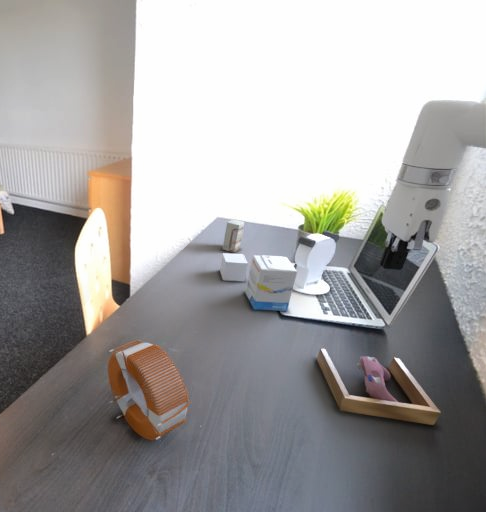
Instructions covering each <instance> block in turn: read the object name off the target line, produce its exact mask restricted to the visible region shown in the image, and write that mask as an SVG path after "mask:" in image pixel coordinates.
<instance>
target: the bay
mask: <svg viewBox="0 0 486 512" xmlns="http://www.w3.org/2000/svg"><path fill="white" fill-rule="evenodd" d="M316 362H317V364H318V366H319V368H320V370H321V371H322V375H323V376H324V378H325V380H326V382H327V384H328V387H329V389H330V391H331V393H332V396H333V397H334V399H335V402H336V404H337V406H338V408H339V410H340V412H345V413H346V412H347V413H353V414H359V415H366V416H373V417H379V418H386V419H392V420H398V421H405V422H410V423H417V424H422V425H423V424H424V425H428V426H429V425H430V426H435V424H436V422H437V421H438V419H439V418H440V415H441V413H442V412H441V410H440V409H439V408H438V407H437V406H436V404H435V403H434V402H433V400H432V399H431V398H430V396H429V395H428V394H427V392H425V390H424V389H423V387H422V386H421V385H420V384H419V382H418V381H417V379H416V378H415V377H414V376H413V374H412V373H411V372H410V371H409V369H408V368H407V367H406V365H405V363H404V362H402V360H401V359H400V358H399V357H393V358H392V361H391V362H390V365H389V367H388V371H389V373H390V374H391V375H392V376H393V378H394V379H395V381H396V382H397V383H398V385H399V386H400V388H401V389H402V390H403V392H404V393H405V395H406V396H407V397H408V399H409V400H410V402H411V403H406V402H400V401H398V402H393V401H386V400H379V399H373V398H371V397H365V396H358V395H351V394H350V393H349V391H348V390H347V388H346V386H345V384H344V382H343V380H342V378H341V376H340V374H339V372H338V370H337V368H336V366H335V365H334V362H333V361H332V359H331V357H330V355H329V353H328V351H327V349H326V348H320V349H319V351H318V354H317V358H316Z"/></svg>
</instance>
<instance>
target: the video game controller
mask: <svg viewBox="0 0 486 512" xmlns="http://www.w3.org/2000/svg"><path fill="white" fill-rule="evenodd" d="M356 365H357V368H358V369H359V370H362V371H363V373H364V385H365V388H366V389H365V391H366V393H367V394H368V395H369V397H370V398H373V399H379V400H386V401H393V402H399V401H398V400H397V399H396V398H394V396H392V394H391V393H390V391H388V389H387V387H386V382H385V381H389V380H390V379H391V372H390V371H389V370H388V369H387V368H385V367H384V366H383V365H382V364H381V363H380V362H379V361H378V359H377V358H376V357H375V356H373V357H372V356H367V355H365V356H364V355H363V356H359V362H357V363H356Z"/></svg>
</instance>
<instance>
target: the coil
mask: <svg viewBox="0 0 486 512" xmlns="http://www.w3.org/2000/svg"><path fill="white" fill-rule="evenodd" d="M123 347H124V348H123ZM118 349H119V350H118ZM114 351H115V352H114ZM108 352H109V353H111V352H113V353H112V354H111V355H110V357H109V359H108V363H107V376H108V378H107V379H108V382H109V387H110V390H111V393H112V396H114V397H115V398H114V399H112V400H111V401H109V402H108V404H112V403H114V402H115V401H116V402H117V404H118V405H117V406H118V407H119V408H120V411H121V412H122V414H120V415H118V416H117V417H116V420H118V419H119V418H121V417H123V416H124V417H123V419H125V421H126V422H127V424H128V425H129V426H130V428H131V429H132V430H133V431H134V432H135V433H136V434H138V436H140V437H142V438H143V439H145V440H149V441H154V440H156V441H158V440H159V439H161V438H162V436H164V435H166V434H167V433H170V432H171V431H173V430H174V429H176V428H179V427H180V426H182V425H183V424H184V423H185V422H186V417H187V413H188V406H189V405H190V400H189V396H188V390H187V388H186V384H185V382H184V379H183V376H182V374H180V371H179V368H178V367H177V366H176V364H175V363H174V361H173V359H171V357H170V356H169V355H168V353H167V352H166V351H165V350H164V349H162V348H161V347H160V346H159V345H157V344H155V343H154V344H152V343H149V342H143V341H142V340H133V341H130V342H128V343H127V342H126V343H124V344H122V345H120V346H118V347H115V348H112V349H109V350H108Z"/></svg>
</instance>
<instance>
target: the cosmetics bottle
mask: <svg viewBox="0 0 486 512" xmlns="http://www.w3.org/2000/svg"><path fill="white" fill-rule="evenodd" d="M245 223H246V221H244V220H240V219H235V218H232V219H230V220H228V221H227V222H226V227H225V232H224V238H223V244H222V250H224V251H226V252H231V253H232V254H235V253H236V252H238V251H239V250H240V247H241V244H242V239H243V233H244V230H245V229H244V228H245Z"/></svg>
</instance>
